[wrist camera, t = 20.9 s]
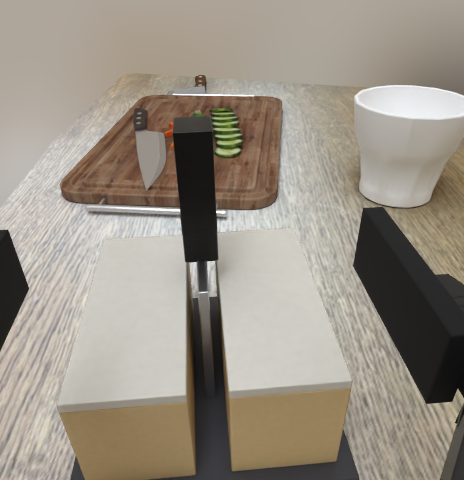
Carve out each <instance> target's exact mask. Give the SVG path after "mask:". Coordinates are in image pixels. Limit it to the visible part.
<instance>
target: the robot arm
mask: <svg viewBox="0 0 464 480" xmlns="http://www.w3.org/2000/svg"><path fill="white" fill-rule="evenodd" d="M353 267H354V268H355V270H356V272H357V274H358V276H359V278H360V280H361V282H362V284H363V285H364V287H365V289H366V291H367V293H368V295H369V297H370V299H371V300H372V302H373V304H374V306H375V308H376V310H377V312H378V314H379V315H380V317H381V319H382V321H383V323H384V325H385V327H386V329H387V330H388V332H389V334H390V336H391V338H392V340H393V342H394V344H395V346H396V347H397V349H398V351H399V353H400V355H401V357H402V359H403V361H404V362H405V364H406V366H407V368H408V370H409V372H410V374H411V376H412V377H413V379H414V381H415V383H416V385H417V387H418V389H419V391H420V393H421V394H422V396H423V398H424V400H425V402H426V404H430V403H441V402H452V400H453V398H454V396H455V393H456V391H457V388H458V389H459V391H460V392H461V394H462V395H463V397H464V285H463V284H462V283H461V282H459V281H458V280H456V279H455V278H453V277H452V276H450V275H449V274H442V275H435V274H434V273H433V272H432V270H431V269H430V268H429V266H428V265H427V264H426V263H425V261H424V260H423V259H422V257H421V256H420V255H419V253H418V252H417V251H416V250H415V248H414V247H413V246H412V244H411V243H410V242H409V240H408V239H407V238H406V237H405V235H404V234H403V233H402V231H401V230H400V229H399V227H398V226H397V225H396V224H395V222H394V221H393V220H392V218H391V217H390V216H389V215H388V213H387V212H386V211H385V209H384V208H383V207H374V208H363V212H362V218H361V223H360V229H359V235H358V241H357V247H356V253H355V259H354V264H353ZM28 290H29V287H28V284H27V281H26V279H25V276H24V273H23V270H22V267H21V265H20V262H19V259H18V256H17V253H16V251H15V248H14V245H13V242H12V239H11V237H10V234H9V231H8V230H0V350H1V348H2V346H3V344H4V342H5V340H6V337H7V335H8V333H9V331H10V329H11V327H12V324H13V322H14V320H15V318H16V316H17V314H18V311H19V309H20V307H21V305H22V303H23V301H24V298H25V296H26V294H27V292H28ZM455 423H456V424H457V425H456V429H455V432H454V435H453V438H452V442H451V445H450V448H449V451H448V455H447V458H446V461H445V464H444V468H443V471H442V474H441V478H440V480H464V404H463V406H462V408H461V410H460V413H459V415H458V417H457V419H456V422H455Z"/></svg>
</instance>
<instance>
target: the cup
mask: <svg viewBox="0 0 464 480" xmlns="http://www.w3.org/2000/svg"><path fill="white" fill-rule="evenodd" d="M354 132H355V136H356V140H357V143H358V145H359V148H360V167H361V178H360V182H359V190H360V193H361V194H363V195H364V196H365V197H366V198H367V199H369V200H371V201H373V202H375V203H378V204H381V205H385V206H390V207H399V208H410V207H416V206H420V205H423V204H425V203H427V202H429V201H430V199H431V195H432V191H433V189H434V187H435V185H436V183H437V181H438V179H439V177H440V175H441V173H442V171H443V169H444V167H445V165H446V163H447V161H448V159H449V157H450V156H451V155H452V154H453V153H454V152H455V151H456V150H457V149H458V147H459V145H460V143H461V140H462V138H463V136H464V96H463V95H460V94H457V93H455V92H451V91H446V90H442V89H437V88H431V87H421V86H404V85H391V86H380V87H373V88H369V89H365V90H362V91H360V92H359V93H358V94H357V95H356V96H354Z"/></svg>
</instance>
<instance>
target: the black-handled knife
mask: <svg viewBox="0 0 464 480" xmlns="http://www.w3.org/2000/svg"><path fill="white" fill-rule="evenodd" d="M172 134H173V144H174V155H175V165H176V175H177V185H178V196H179V206H180V216H181V226H182V236H183V247H184V257H185V262H197V282H198V301H199V313H200V326H201V338H202V350H203V362H204V375H205V387H206V397H207V398H209V397H215V381H214V365H213V350H212V334H211V318H210V302H209V286H208V271H207V261H216V260H218V259H219V258H218V236H217V213H216V191H215V169H214V146H213V129H212V122H211V117H210V116H196V117H175V118H174V120H173V133H172Z"/></svg>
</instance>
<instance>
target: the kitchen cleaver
mask: <svg viewBox="0 0 464 480" xmlns="http://www.w3.org/2000/svg"><path fill="white" fill-rule="evenodd" d="M195 82H196V85H195V87H191V88H186V89H180V90H175V91H170V92H168V95H173V94H206V92H205V91H206V77H205V76H204V75H199V76H196V77H195Z"/></svg>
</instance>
